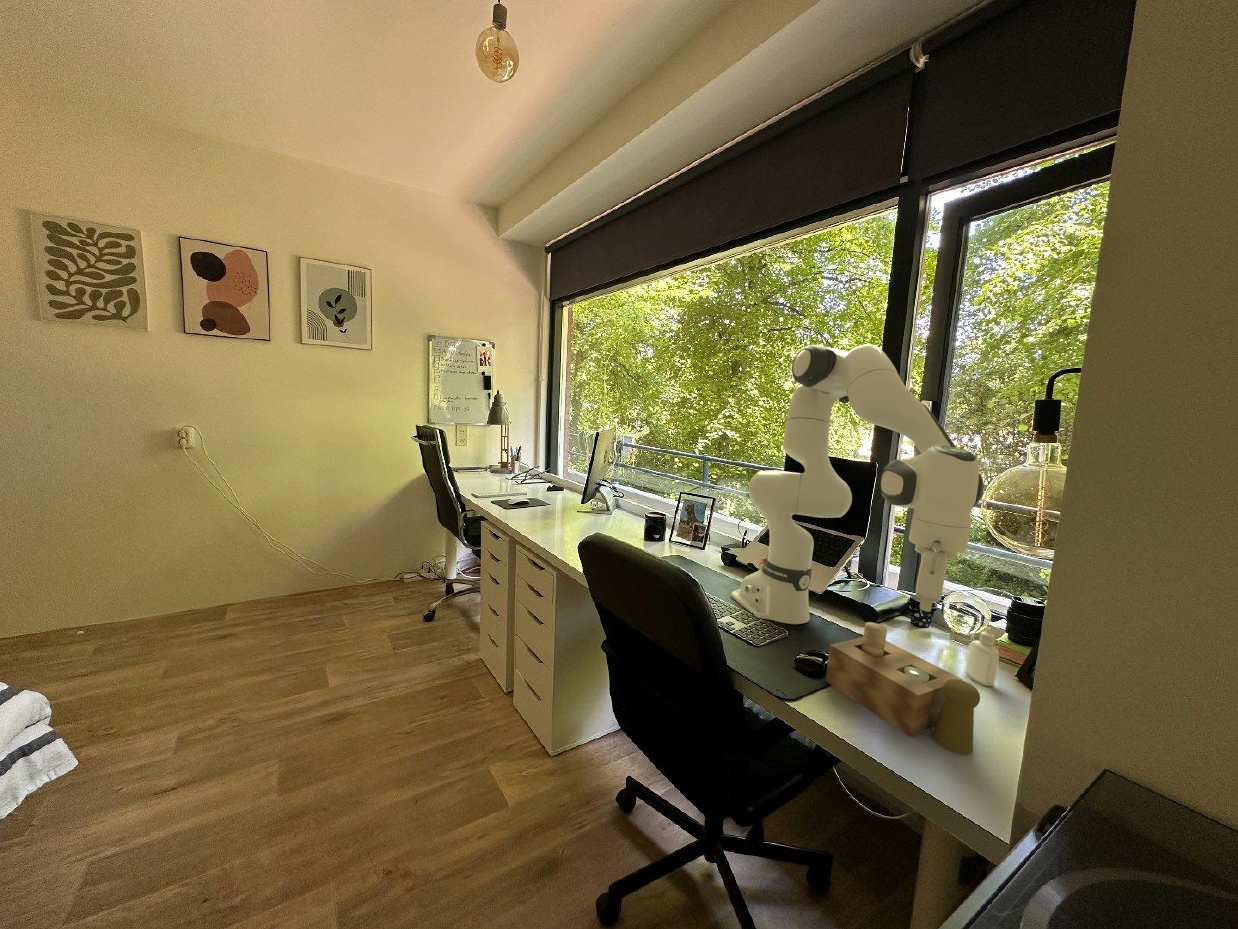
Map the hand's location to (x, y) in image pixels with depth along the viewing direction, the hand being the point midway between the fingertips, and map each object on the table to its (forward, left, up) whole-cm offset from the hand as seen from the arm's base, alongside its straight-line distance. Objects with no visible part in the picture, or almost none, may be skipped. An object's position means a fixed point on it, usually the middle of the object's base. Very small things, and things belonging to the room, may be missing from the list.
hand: (925, 608), depth 89 cm
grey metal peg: (+1, 0, -20) cm, 20 cm away
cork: (+9, -1, -21) cm, 23 cm away
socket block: (-4, 0, -21) cm, 21 cm away
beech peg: (-9, 0, -16) cm, 18 cm away
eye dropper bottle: (-1, +28, -21) cm, 35 cm away
